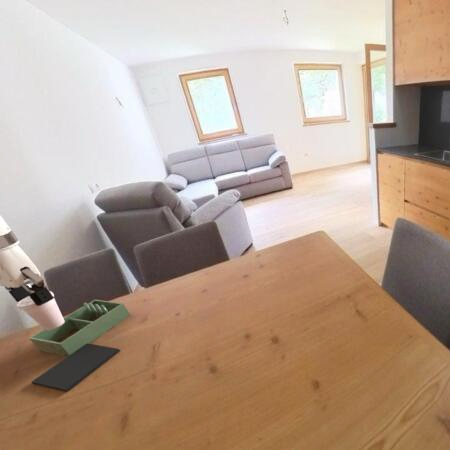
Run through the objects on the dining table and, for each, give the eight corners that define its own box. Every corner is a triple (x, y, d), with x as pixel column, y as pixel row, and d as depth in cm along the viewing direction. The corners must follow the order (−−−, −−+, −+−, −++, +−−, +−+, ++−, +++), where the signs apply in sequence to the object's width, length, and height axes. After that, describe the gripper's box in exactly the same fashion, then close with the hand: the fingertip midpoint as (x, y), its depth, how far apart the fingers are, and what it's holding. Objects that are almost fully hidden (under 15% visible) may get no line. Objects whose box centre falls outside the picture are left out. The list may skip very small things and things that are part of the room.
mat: (32, 383, 70) (30, 381, 70) (88, 345, 81) (87, 343, 80) (67, 391, 68) (65, 389, 68) (120, 350, 78) (118, 348, 78)
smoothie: (75, 320, 80) (47, 281, 74) (43, 336, 75) (10, 296, 69) (66, 314, 83) (37, 276, 76) (33, 329, 77) (1, 289, 71)
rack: (39, 350, 80) (23, 333, 77) (102, 310, 94) (91, 294, 91) (70, 356, 77) (55, 338, 74) (130, 314, 91) (119, 298, 88)
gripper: (-58, 248, 65) (-7, 306, 73) (-8, 254, 62) (40, 314, 70) (-10, 233, 72) (32, 288, 80) (38, 238, 69) (77, 295, 76)
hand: (35, 300), depth 75 cm, fingers closed on smoothie, 6 cm apart
